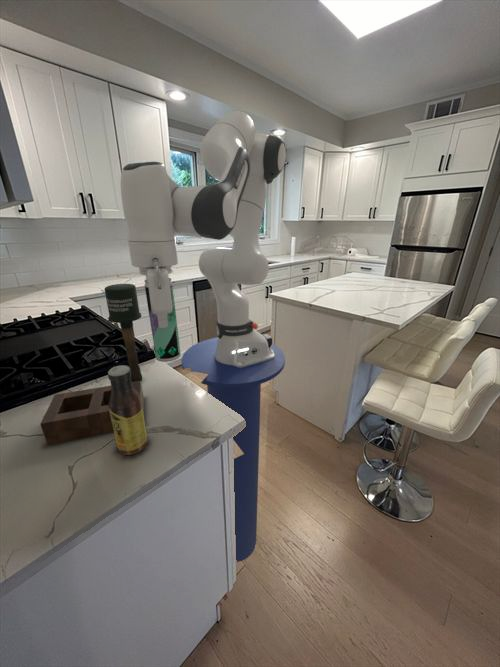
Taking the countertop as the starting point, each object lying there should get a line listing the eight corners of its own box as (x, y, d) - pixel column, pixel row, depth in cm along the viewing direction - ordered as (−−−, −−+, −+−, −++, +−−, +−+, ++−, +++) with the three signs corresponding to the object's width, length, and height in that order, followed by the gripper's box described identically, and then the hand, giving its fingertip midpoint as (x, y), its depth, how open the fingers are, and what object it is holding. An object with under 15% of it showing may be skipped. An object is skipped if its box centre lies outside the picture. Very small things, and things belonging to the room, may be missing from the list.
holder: (143, 398, 78) (140, 380, 76) (143, 425, 68) (140, 405, 66) (60, 413, 72) (54, 394, 69) (47, 445, 62) (40, 423, 60)
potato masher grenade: (115, 386, 84) (94, 288, 72) (134, 372, 91) (119, 282, 80) (138, 391, 81) (121, 291, 70) (156, 376, 89) (143, 284, 77)
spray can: (156, 353, 65) (142, 266, 58) (179, 350, 66) (169, 265, 59) (155, 363, 60) (141, 270, 53) (181, 359, 62) (170, 268, 54)
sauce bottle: (116, 442, 63) (98, 365, 55) (144, 432, 66) (131, 358, 58) (120, 462, 58) (102, 381, 50) (151, 450, 61) (138, 372, 53)
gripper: (176, 262, 47) (183, 337, 52) (166, 250, 65) (172, 306, 70) (136, 264, 45) (147, 341, 50) (137, 250, 63) (146, 309, 68)
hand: (162, 321), depth 60 cm, fingers closed on spray can, 5 cm apart
